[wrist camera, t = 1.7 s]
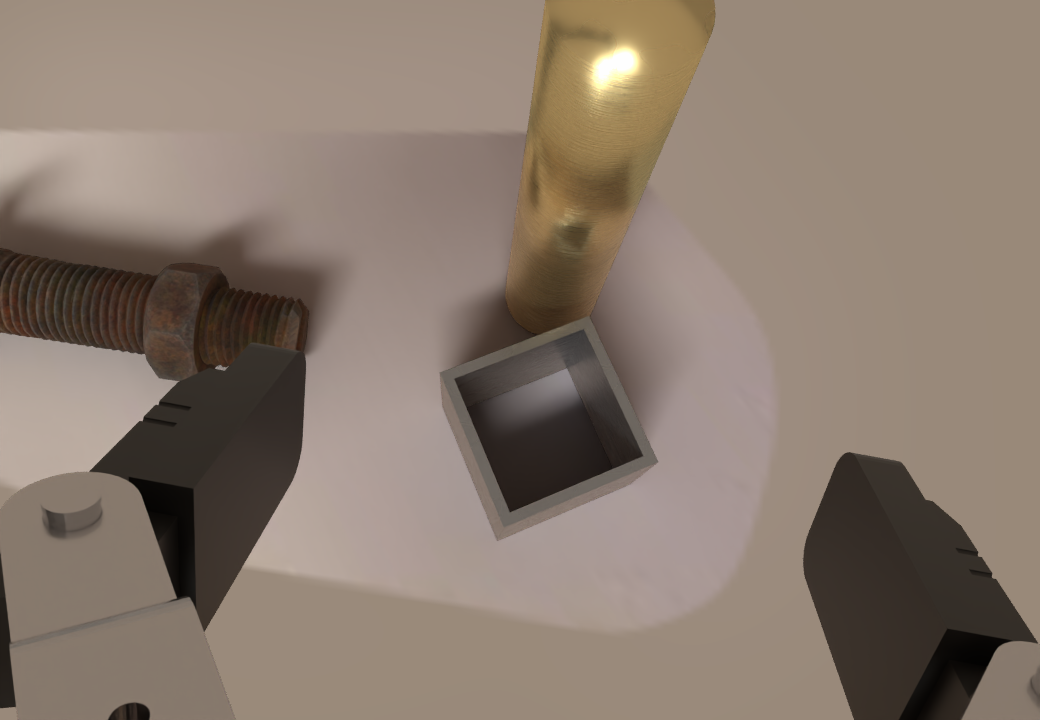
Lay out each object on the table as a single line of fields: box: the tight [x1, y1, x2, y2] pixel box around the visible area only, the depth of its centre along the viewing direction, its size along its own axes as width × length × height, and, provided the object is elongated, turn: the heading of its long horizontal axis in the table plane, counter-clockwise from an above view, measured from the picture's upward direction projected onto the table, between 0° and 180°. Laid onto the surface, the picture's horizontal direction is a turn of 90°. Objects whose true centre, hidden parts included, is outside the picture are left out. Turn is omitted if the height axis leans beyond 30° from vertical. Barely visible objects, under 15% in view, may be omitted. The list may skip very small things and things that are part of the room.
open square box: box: [440, 316, 658, 541], centre depth 32 cm, size 6×6×5 cm
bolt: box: [0, 248, 309, 381], centre depth 32 cm, size 6×5×15 cm
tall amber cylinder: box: [505, 0, 715, 335], centre depth 28 cm, size 4×4×18 cm
